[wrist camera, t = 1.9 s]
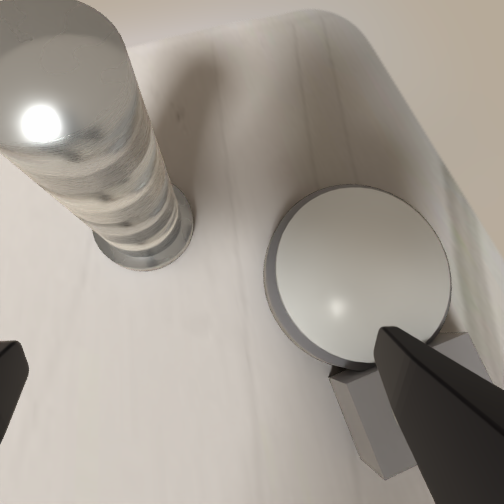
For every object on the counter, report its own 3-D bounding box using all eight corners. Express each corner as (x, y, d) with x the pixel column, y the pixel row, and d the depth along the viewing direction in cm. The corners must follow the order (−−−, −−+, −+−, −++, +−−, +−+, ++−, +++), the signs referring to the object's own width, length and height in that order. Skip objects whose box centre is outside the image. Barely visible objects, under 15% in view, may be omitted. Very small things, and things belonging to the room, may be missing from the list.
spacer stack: (111, 284, 22) (-71, 196, 8) (87, 197, 23) (-105, -1, 10) (205, 253, 23) (180, 130, 9) (177, 171, 24) (119, -40, 11)
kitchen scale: (331, 472, 20) (353, 500, 17) (238, 224, 24) (241, 205, 20) (494, 395, 22) (544, 406, 19) (387, 176, 25) (413, 152, 22)
